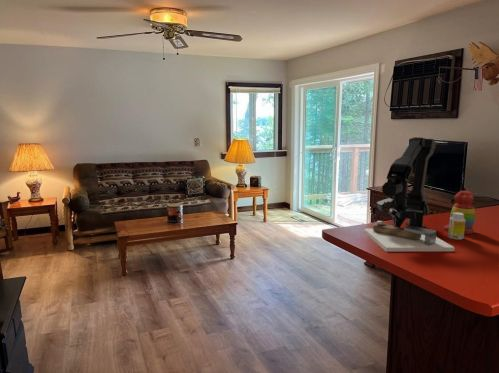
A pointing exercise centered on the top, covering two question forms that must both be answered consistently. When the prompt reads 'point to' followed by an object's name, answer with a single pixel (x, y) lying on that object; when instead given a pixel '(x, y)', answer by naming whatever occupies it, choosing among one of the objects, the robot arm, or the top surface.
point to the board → (405, 242)
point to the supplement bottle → (456, 226)
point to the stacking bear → (464, 210)
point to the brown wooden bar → (395, 231)
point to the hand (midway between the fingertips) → (396, 229)
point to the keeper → (423, 233)
